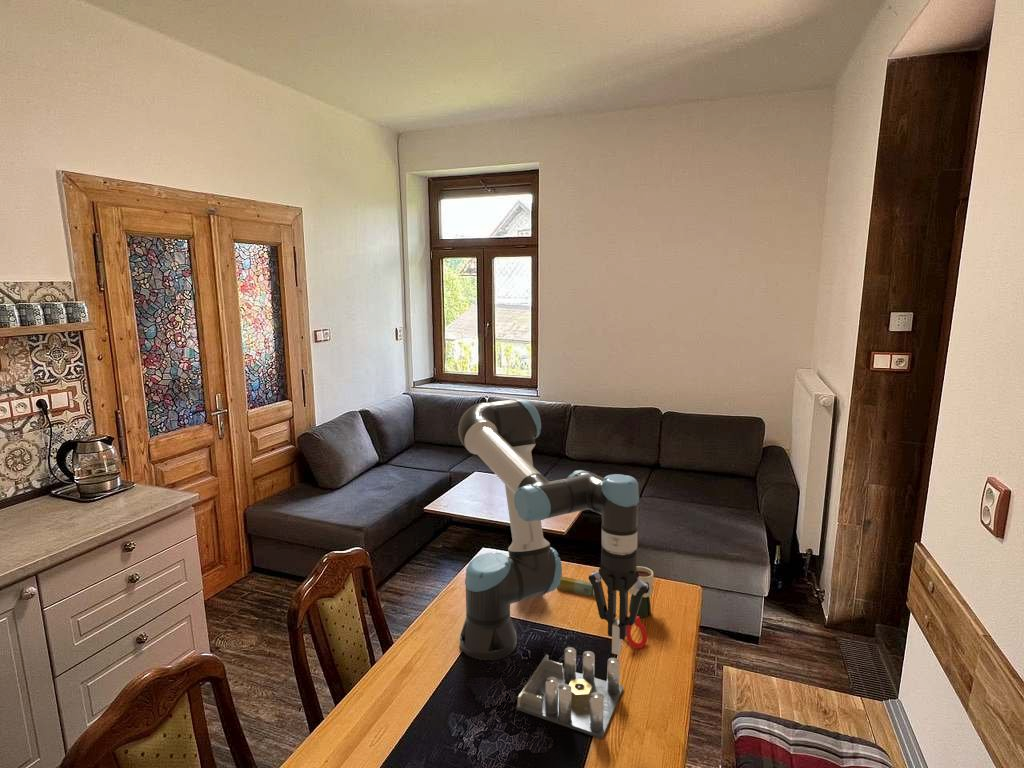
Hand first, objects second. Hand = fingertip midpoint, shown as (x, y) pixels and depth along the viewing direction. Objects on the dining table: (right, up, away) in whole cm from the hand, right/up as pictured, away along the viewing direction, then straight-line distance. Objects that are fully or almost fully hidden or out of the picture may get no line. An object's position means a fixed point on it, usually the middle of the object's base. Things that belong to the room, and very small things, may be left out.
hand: (616, 650), depth 122 cm
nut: (-7, -14, +6) cm, 17 cm away
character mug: (+15, -9, +43) cm, 46 cm away
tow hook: (+9, -14, +29) cm, 34 cm away
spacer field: (-9, -14, +7) cm, 18 cm away
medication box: (-3, -8, +54) cm, 55 cm away
